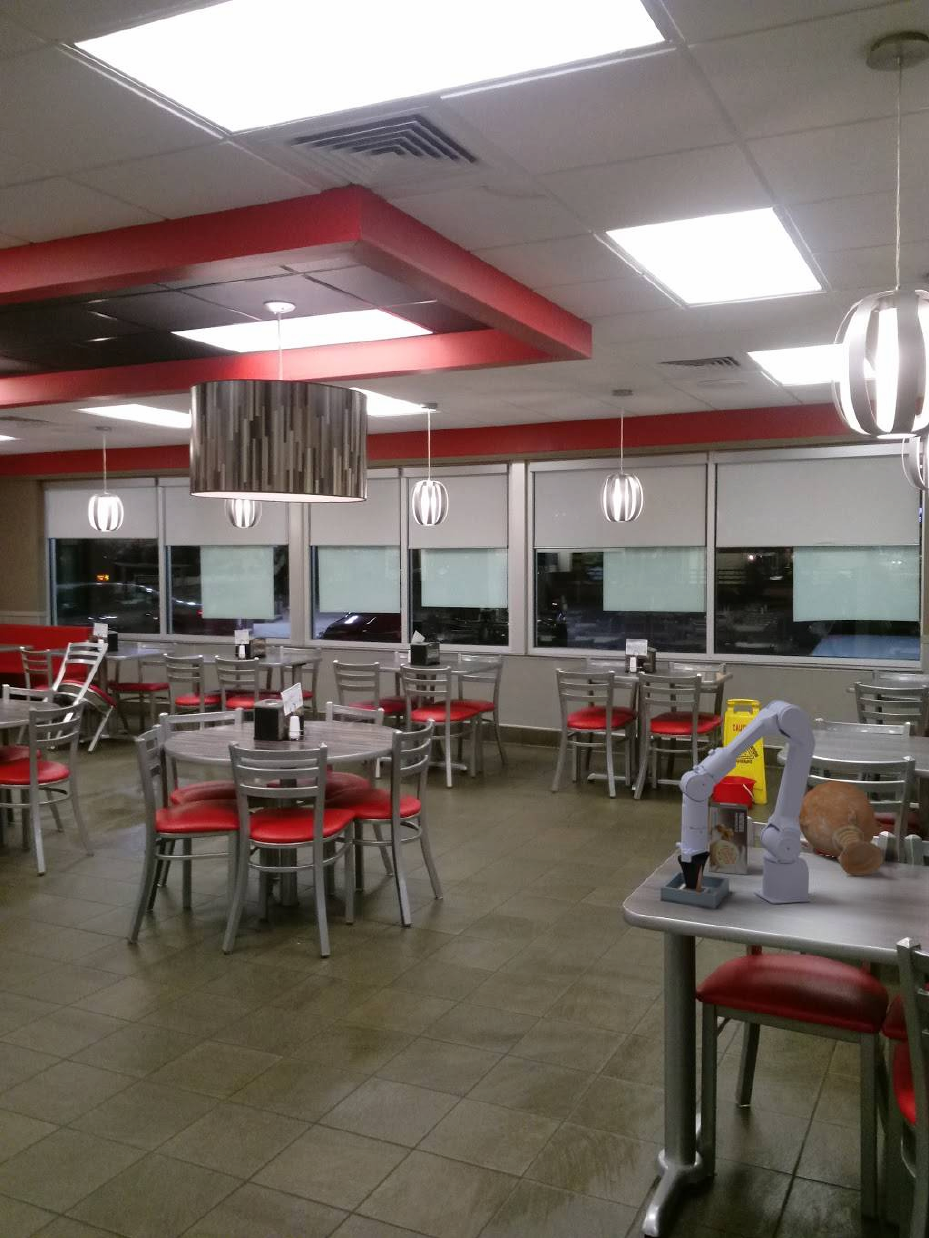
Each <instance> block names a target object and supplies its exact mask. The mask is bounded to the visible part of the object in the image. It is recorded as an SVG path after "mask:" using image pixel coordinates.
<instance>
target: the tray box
mask: <svg viewBox="0 0 929 1238" xmlns="http://www.w3.org/2000/svg"><path fill="white" fill-rule="evenodd" d="M729 892H730V878H728V877H721V876H715V875H714V876H713V875H708V874H703V875H702V880H701V892H696V891H690V890H686V885H685V880H684V875H683V871H682V870H681V871H679V870H677V871H676V872H674V874H672V876H670V877H669V879H668V880H667V881H666V882H665V883H664V884H663V885H661V886H660V901H662V902H668V903H673V904H680V905H687V906H692V907H699V908H705V909H711V910H716V908H717V907H718V906H719V905H720V903H721V902H722V901H723V900H724V898H725V897H726V896H727V894H728V893H729Z"/></svg>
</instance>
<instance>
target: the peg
mask: <svg viewBox="0 0 929 1238" xmlns="http://www.w3.org/2000/svg"><path fill="white" fill-rule="evenodd" d="M701 876H702V866H701V869H700V872H699V877H698V883H697V887H696V889H689V888H686V890H690V891H696V892H701Z"/></svg>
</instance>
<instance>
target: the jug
mask: <svg viewBox="0 0 929 1238" xmlns="http://www.w3.org/2000/svg"><path fill="white" fill-rule="evenodd" d="M798 821H799V825H800V829H801V834H802V835H803V837H804V839H805V840H806V841H807V843H809V844H810V845H811V846H813V847H814V848H815V849H816V850H817V851H819V852H821V853H823V854H825V855H827V856H830V857H833V858H837V860H838V862H839V865H840V867H841V869H842V870H843V871H844V872H845V873H846V874H848V875H850V876H853V877H866V876H868V875H873V874H875V873H876V872H877V871H878V870H879V869H880V867H881V865H882V863H883V862H884V858H883V855H882V852H881V848H880V847H879V846H878V845H876V844H875V843H873V842H872V841H873V839H874V837H875V836H876V835H878V834H881V833H882V832H883V830H884V825H883V824H882V823H881V822H880V821H878V820H877V819H876V816H875V812H874V808H873V806H872V803H871V802H870V800H869V798H868V796H867V795H866V794H865V793H864V792H863V791H862V790H861V789H860V788H859V787H857V786H855V785H853V784H850V783H847V782H845V781H839V780H838V781H837V780H835V781H834V780H833V781H827V782H824V783H820V784H818V785H817V786H815V787H814V788H812V789H811V790H809V791H808V792H807V793H806V794H804V797H803V801H802V806H801V810H800V814H799V819H798Z"/></svg>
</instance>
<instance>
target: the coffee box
mask: <svg viewBox="0 0 929 1238" xmlns="http://www.w3.org/2000/svg"><path fill="white" fill-rule="evenodd" d="M748 808H749V805H748V803H747V804H744V803H737V802H736V803H733V802H724V801H723V802H719V801H711V802H710V806H709V838H708V839H709V842H708V843H709V845H708V852H710V856H709V857H708V859H709V860H708V872H712V873H722V874H723V873H724V874H734V875H735V874H736V875H744V876H746V875H748V838H749V837H748V828H749V827H748V825H749V824H748V822H749V820H748V819H749V809H748Z"/></svg>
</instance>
